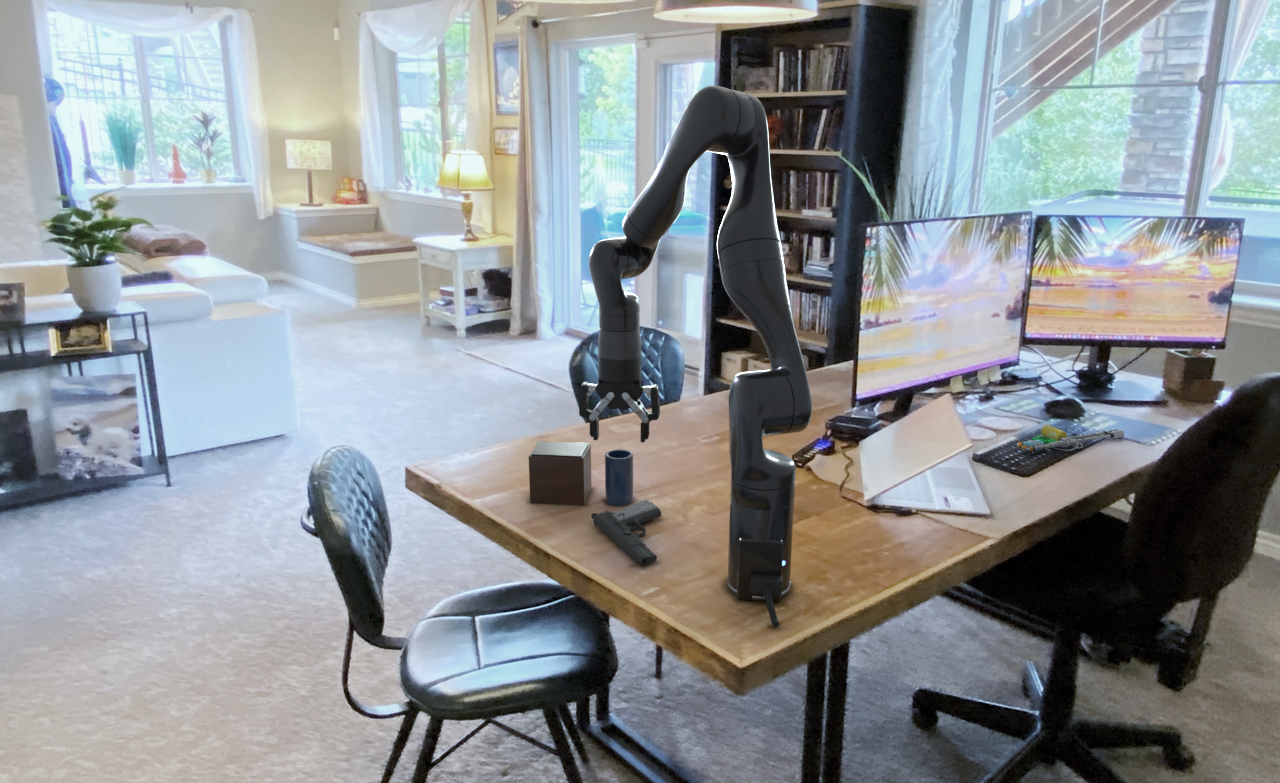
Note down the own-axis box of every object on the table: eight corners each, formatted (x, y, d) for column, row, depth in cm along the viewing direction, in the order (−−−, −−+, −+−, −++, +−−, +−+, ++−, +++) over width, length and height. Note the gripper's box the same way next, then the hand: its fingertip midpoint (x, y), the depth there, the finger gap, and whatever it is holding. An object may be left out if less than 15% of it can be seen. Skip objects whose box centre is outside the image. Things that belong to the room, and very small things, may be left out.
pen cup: (631, 506, 167) (631, 459, 164) (603, 505, 167) (603, 458, 165) (634, 495, 172) (634, 449, 169) (607, 494, 172) (607, 448, 170)
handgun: (647, 509, 165) (586, 521, 160) (647, 497, 164) (586, 509, 159) (702, 554, 150) (637, 570, 144) (703, 541, 149) (637, 556, 143)
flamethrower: (998, 443, 198) (1035, 460, 190) (1000, 431, 198) (1037, 448, 189) (1093, 427, 211) (1131, 442, 202) (1095, 416, 210) (1134, 431, 201)
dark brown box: (584, 505, 167) (583, 457, 165) (530, 502, 168) (528, 454, 166) (591, 488, 175) (590, 442, 172) (539, 486, 176) (538, 440, 173)
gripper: (575, 356, 159) (576, 445, 164) (657, 359, 157) (657, 449, 162) (583, 346, 166) (584, 431, 171) (662, 348, 165) (661, 434, 169)
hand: (619, 440), depth 166 cm, fingers open, 8 cm apart
